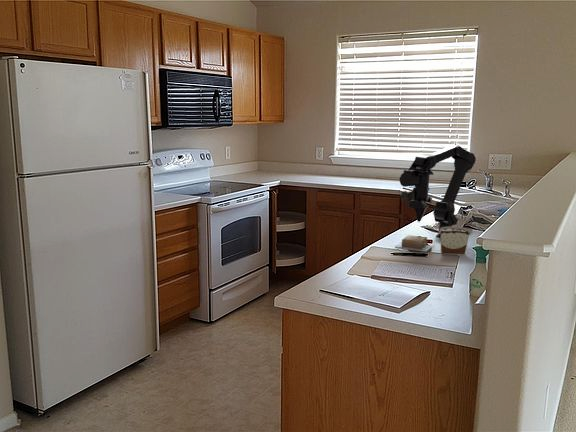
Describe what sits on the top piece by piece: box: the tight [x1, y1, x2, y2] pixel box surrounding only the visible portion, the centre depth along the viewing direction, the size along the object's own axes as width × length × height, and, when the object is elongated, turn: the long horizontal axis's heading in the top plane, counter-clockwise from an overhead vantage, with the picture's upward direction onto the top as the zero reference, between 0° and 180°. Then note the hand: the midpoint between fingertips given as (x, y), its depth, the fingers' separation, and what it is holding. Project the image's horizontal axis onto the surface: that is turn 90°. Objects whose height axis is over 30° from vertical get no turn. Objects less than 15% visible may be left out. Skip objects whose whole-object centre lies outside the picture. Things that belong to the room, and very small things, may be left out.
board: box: [394, 241, 433, 253], centre depth 221 cm, size 9×13×1 cm
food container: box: [439, 226, 471, 256], centre depth 213 cm, size 12×6×10 cm, turn 89°
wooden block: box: [401, 234, 428, 250], centre depth 221 cm, size 3×8×9 cm
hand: (418, 221), depth 230 cm, fingers closed
